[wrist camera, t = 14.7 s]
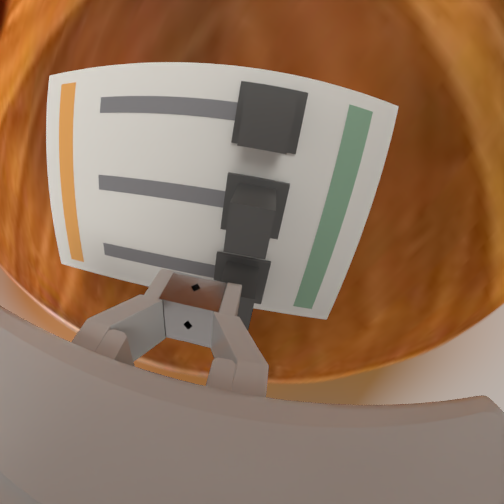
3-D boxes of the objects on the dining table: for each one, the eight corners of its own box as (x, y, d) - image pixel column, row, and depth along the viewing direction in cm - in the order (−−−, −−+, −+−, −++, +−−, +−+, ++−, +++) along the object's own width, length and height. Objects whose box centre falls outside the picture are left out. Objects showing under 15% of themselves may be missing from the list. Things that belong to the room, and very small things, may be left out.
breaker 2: (270, 261, 21) (269, 295, 17) (261, 302, 23) (257, 337, 19) (217, 251, 20) (205, 283, 17) (212, 292, 23) (201, 327, 19)
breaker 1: (307, 93, 14) (317, 89, 11) (295, 153, 16) (300, 167, 13) (241, 81, 14) (231, 74, 11) (232, 142, 16) (219, 152, 13)
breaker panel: (382, 105, 17) (399, 106, 14) (322, 298, 26) (326, 320, 23) (71, 74, 16) (49, 75, 14) (76, 248, 26) (61, 263, 23)
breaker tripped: (290, 183, 17) (293, 205, 14) (277, 237, 20) (277, 269, 16) (228, 172, 17) (216, 190, 14) (221, 227, 19) (208, 256, 16)
